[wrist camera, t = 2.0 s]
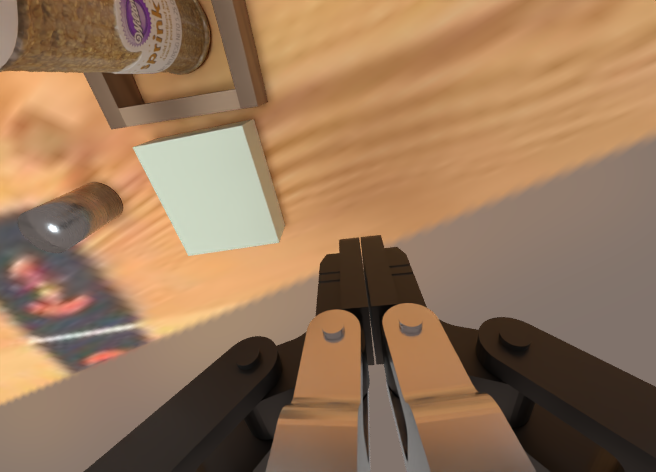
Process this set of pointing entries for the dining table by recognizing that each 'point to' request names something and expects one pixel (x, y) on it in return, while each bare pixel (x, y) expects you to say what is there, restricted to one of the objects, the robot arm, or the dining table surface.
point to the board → (215, 187)
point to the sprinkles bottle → (103, 36)
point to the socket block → (129, 109)
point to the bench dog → (70, 217)
